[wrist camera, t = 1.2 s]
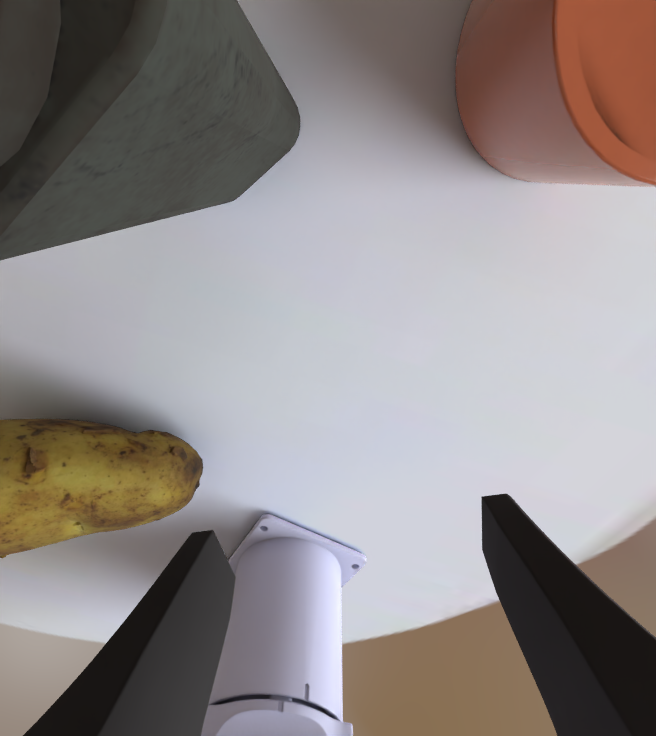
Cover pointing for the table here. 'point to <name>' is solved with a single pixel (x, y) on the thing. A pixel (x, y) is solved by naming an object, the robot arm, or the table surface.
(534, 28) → the flower pot
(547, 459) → the table surface
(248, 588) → the robot arm
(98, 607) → the table surface
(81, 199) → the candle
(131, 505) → the potato
